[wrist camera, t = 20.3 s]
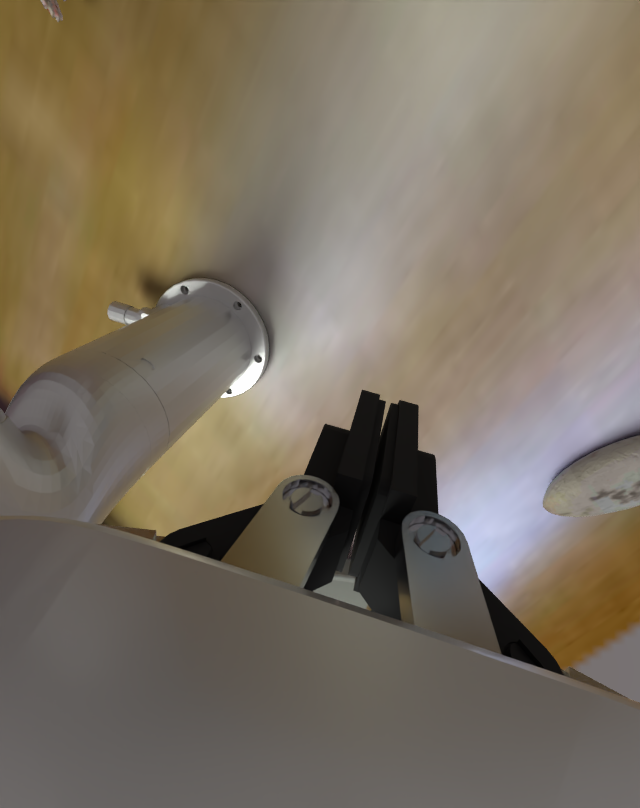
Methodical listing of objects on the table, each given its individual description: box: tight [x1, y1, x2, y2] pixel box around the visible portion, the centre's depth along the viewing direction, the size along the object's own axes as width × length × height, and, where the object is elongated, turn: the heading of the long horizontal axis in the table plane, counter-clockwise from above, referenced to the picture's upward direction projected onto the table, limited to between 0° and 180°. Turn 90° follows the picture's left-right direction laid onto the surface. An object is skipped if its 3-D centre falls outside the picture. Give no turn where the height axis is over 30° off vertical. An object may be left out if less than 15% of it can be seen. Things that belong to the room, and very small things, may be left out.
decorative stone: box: [543, 435, 640, 517], centre depth 36 cm, size 6×16×3 cm, turn 134°
